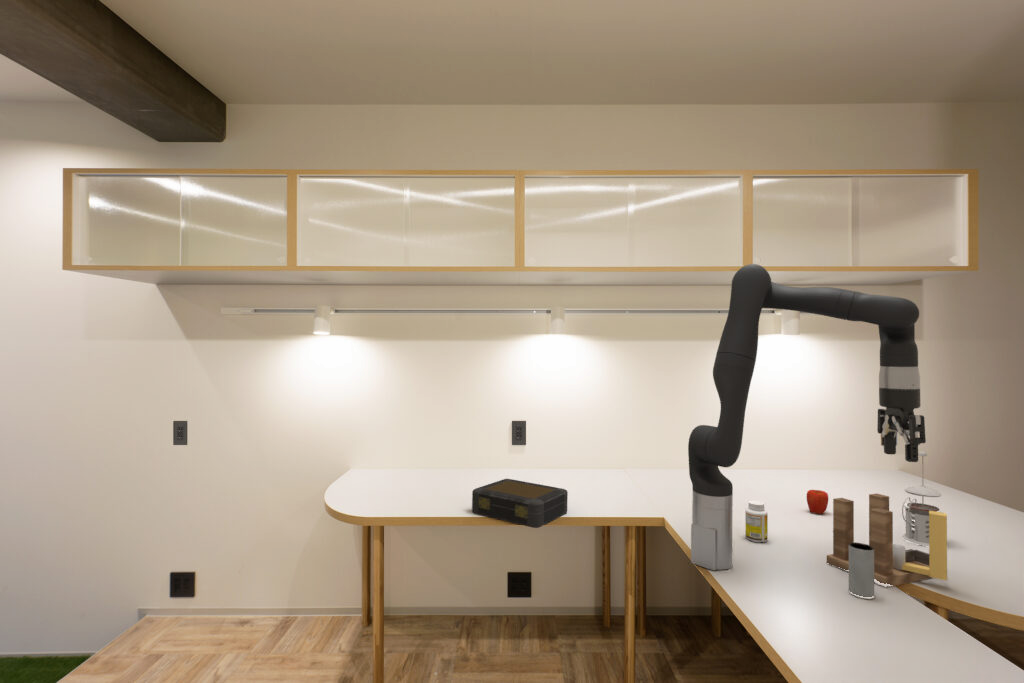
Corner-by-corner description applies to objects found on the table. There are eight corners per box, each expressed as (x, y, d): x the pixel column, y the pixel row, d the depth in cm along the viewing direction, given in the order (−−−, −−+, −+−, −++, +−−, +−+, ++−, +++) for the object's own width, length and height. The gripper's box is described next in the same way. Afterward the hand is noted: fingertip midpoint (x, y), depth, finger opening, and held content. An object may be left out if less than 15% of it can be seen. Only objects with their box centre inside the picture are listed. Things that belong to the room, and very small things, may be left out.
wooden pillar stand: (885, 587, 113) (885, 514, 114) (826, 563, 126) (826, 498, 127) (937, 576, 120) (937, 507, 121) (876, 554, 133) (876, 492, 134)
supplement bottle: (760, 536, 145) (760, 499, 146) (771, 543, 140) (772, 505, 140) (741, 536, 145) (741, 499, 145) (752, 543, 139) (752, 505, 140)
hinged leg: (892, 568, 118) (891, 507, 119) (892, 564, 121) (892, 504, 121) (947, 580, 112) (946, 516, 113) (946, 576, 115) (946, 513, 115)
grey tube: (851, 597, 109) (851, 548, 109) (846, 588, 113) (846, 541, 113) (877, 601, 107) (877, 551, 107) (870, 591, 111) (870, 544, 112)
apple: (817, 516, 164) (817, 493, 164) (801, 511, 170) (801, 488, 170) (833, 515, 166) (833, 492, 166) (817, 509, 172) (817, 487, 172)
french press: (955, 546, 140) (954, 454, 140) (924, 550, 136) (923, 455, 137) (917, 534, 149) (917, 447, 150) (887, 537, 146) (887, 449, 147)
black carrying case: (570, 512, 165) (570, 488, 165) (537, 530, 148) (537, 503, 148) (506, 499, 179) (506, 477, 179) (469, 513, 162) (470, 489, 162)
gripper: (938, 388, 109) (939, 465, 109) (899, 384, 123) (900, 452, 123) (898, 388, 111) (900, 464, 110) (865, 384, 125) (866, 451, 124)
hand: (900, 457), depth 117 cm, fingers open, 8 cm apart
